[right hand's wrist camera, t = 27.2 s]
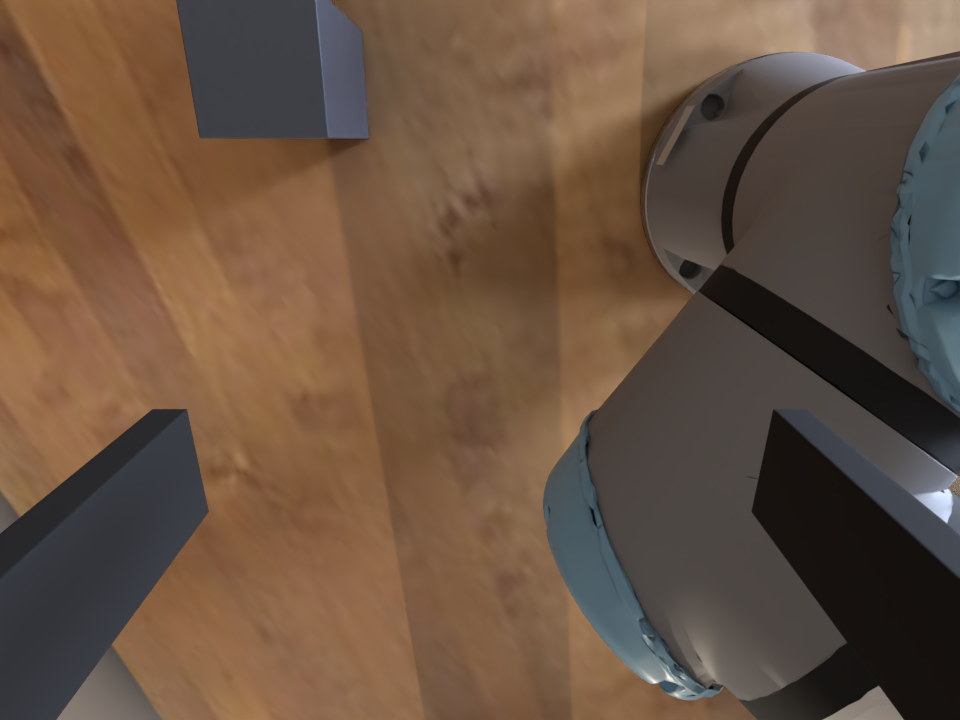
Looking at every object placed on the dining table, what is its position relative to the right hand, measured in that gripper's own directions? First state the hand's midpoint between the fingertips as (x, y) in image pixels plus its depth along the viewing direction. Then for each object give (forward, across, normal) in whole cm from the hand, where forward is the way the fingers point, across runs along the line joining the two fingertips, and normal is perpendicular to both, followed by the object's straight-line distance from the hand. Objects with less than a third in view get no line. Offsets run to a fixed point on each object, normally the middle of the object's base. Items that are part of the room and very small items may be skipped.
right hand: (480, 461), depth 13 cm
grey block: (+27, +10, -10) cm, 30 cm away
